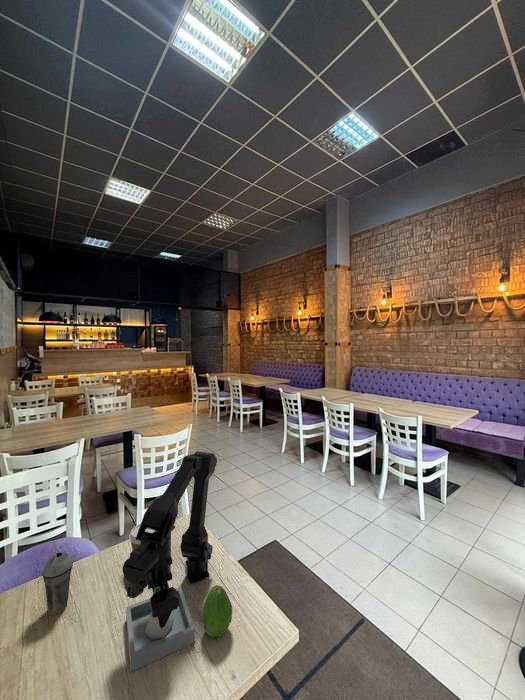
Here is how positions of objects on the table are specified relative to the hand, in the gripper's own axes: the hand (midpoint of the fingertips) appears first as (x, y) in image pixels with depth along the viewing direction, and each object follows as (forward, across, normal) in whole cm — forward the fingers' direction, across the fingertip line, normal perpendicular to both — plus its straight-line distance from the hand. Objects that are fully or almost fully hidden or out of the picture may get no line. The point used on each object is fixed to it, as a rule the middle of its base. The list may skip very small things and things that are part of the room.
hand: (159, 612), depth 79 cm
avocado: (+5, +8, +14) cm, 16 cm away
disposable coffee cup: (+5, -28, 0) cm, 28 cm away
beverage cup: (+5, -20, -24) cm, 32 cm away
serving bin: (+5, 0, 0) cm, 5 cm away
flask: (+4, 0, 0) cm, 4 cm away
